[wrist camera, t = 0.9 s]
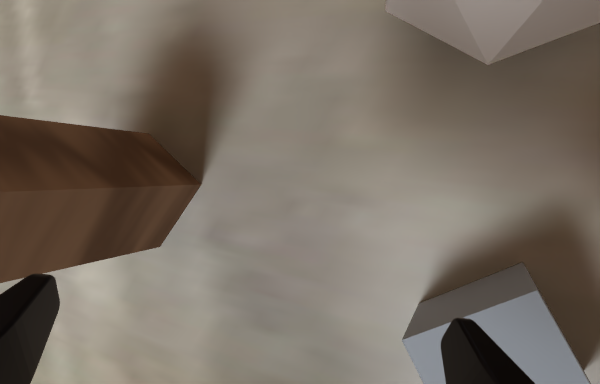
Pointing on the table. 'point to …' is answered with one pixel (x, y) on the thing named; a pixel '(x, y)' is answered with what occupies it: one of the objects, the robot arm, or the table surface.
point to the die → (496, 23)
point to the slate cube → (496, 328)
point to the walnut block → (83, 195)
